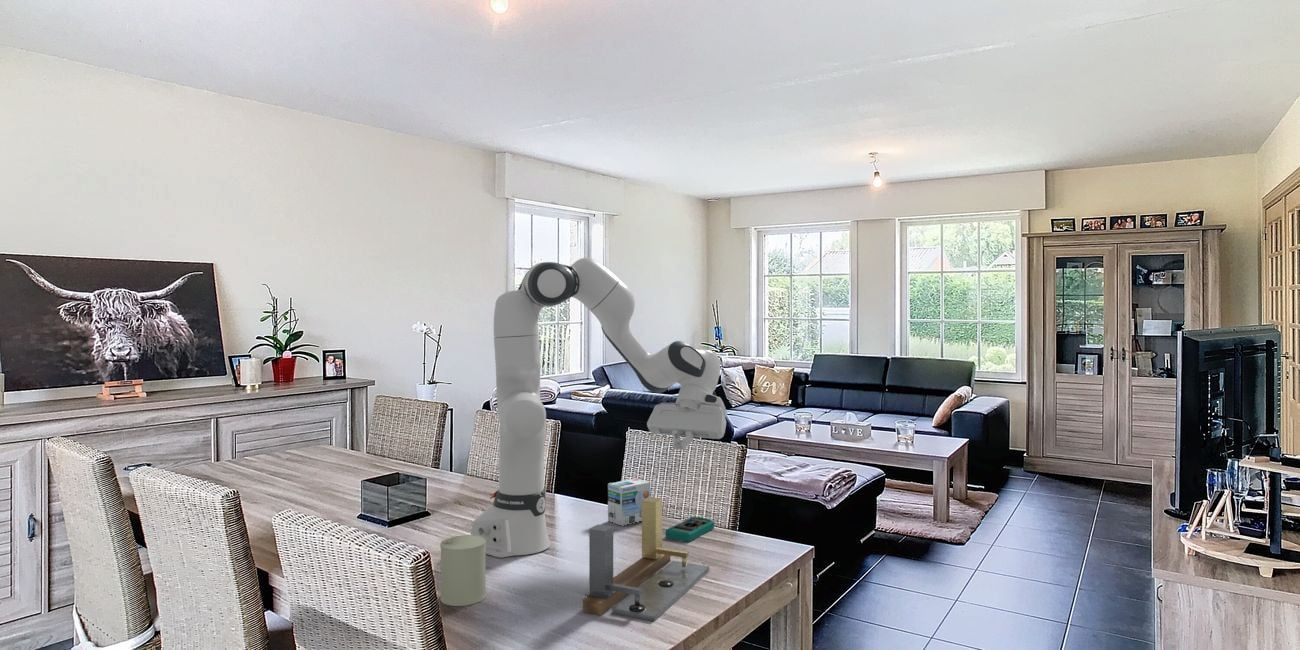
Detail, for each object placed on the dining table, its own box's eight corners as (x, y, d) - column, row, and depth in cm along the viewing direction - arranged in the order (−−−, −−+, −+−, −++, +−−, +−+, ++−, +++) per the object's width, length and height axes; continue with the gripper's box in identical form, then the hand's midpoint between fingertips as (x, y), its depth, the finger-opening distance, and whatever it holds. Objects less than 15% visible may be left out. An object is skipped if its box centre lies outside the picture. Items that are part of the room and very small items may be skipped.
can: (445, 589, 156) (444, 533, 155) (489, 588, 156) (488, 532, 156) (436, 607, 146) (435, 547, 146) (483, 605, 147) (482, 546, 147)
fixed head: (585, 600, 146) (585, 529, 145) (596, 592, 150) (596, 523, 149) (635, 610, 141) (635, 536, 141) (645, 601, 145) (645, 530, 145)
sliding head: (641, 562, 168) (641, 500, 167) (648, 557, 171) (648, 497, 170) (684, 569, 163) (684, 505, 163) (690, 564, 166) (690, 502, 166)
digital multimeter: (715, 529, 200) (715, 518, 200) (689, 544, 187) (689, 532, 187) (692, 525, 203) (692, 515, 203) (664, 539, 191) (664, 528, 191)
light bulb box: (621, 526, 201) (621, 487, 200) (606, 521, 206) (606, 483, 205) (651, 519, 208) (651, 481, 207) (635, 514, 213) (635, 477, 213)
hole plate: (612, 613, 143) (612, 607, 143) (672, 564, 171) (672, 559, 171) (654, 621, 140) (654, 615, 140) (709, 570, 167) (709, 565, 167)
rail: (582, 612, 144) (582, 599, 144) (655, 558, 175) (655, 548, 175) (600, 615, 142) (600, 602, 142) (670, 561, 173) (670, 550, 173)
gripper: (653, 394, 193) (636, 437, 184) (726, 398, 184) (713, 443, 176) (660, 409, 197) (644, 452, 188) (732, 413, 188) (719, 458, 180)
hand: (678, 448), depth 182 cm, fingers closed
